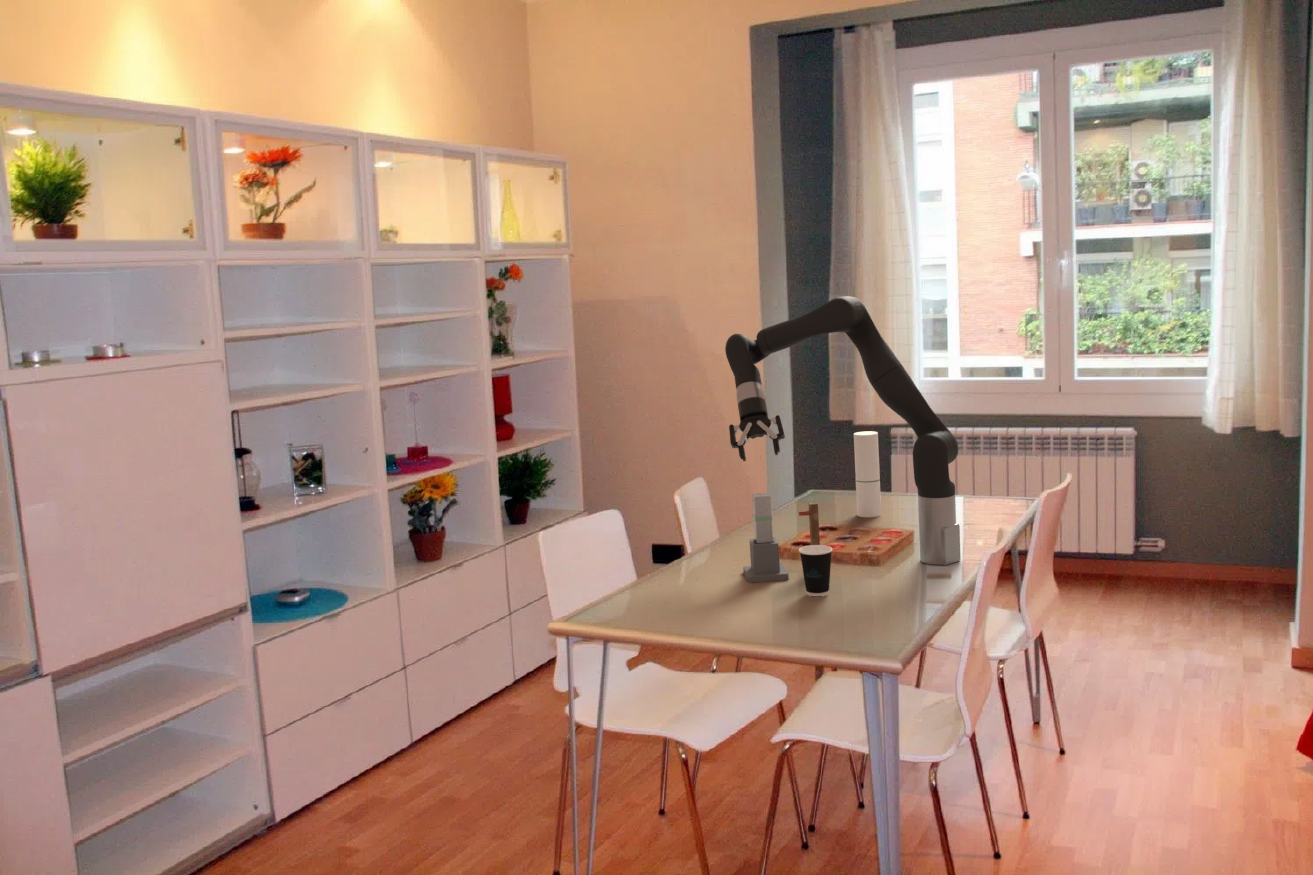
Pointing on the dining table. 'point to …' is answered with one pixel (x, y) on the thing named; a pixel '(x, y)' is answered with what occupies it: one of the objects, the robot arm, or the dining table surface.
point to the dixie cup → (816, 568)
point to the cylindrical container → (867, 474)
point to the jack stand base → (765, 563)
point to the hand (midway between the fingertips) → (760, 457)
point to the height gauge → (813, 522)
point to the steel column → (762, 518)
